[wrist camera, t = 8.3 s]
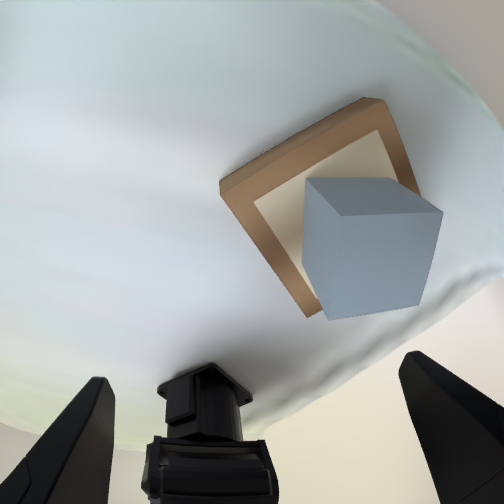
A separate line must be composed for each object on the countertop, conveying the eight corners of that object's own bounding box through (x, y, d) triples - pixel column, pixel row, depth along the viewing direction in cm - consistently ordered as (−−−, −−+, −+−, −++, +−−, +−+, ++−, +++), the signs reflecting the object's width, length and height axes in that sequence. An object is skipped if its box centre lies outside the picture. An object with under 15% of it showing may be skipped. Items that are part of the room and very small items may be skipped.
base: (414, 225, 21) (434, 242, 19) (298, 295, 23) (307, 319, 20) (363, 97, 16) (385, 100, 14) (219, 181, 18) (220, 196, 16)
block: (390, 177, 16) (443, 212, 12) (378, 256, 19) (418, 305, 14) (305, 178, 16) (340, 216, 11) (301, 263, 18) (328, 320, 14)
